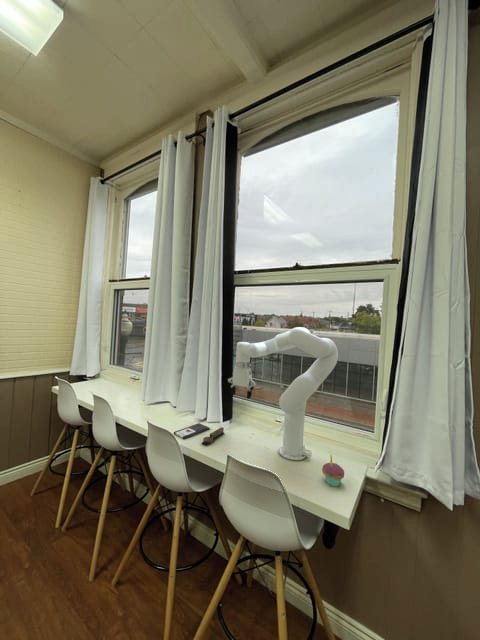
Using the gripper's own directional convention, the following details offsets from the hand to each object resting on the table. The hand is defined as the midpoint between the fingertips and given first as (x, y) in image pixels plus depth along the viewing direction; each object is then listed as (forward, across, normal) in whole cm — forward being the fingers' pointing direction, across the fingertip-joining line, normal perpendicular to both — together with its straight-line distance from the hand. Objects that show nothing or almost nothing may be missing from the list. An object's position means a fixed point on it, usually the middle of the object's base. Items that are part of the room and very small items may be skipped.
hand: (241, 396), depth 143 cm
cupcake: (+22, -51, +13) cm, 57 cm away
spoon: (+22, +10, +9) cm, 25 cm away
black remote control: (+22, +10, +9) cm, 26 cm away
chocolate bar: (+22, +25, +9) cm, 35 cm away
